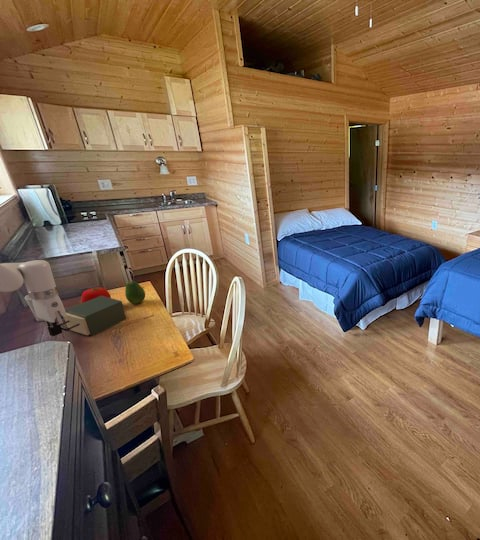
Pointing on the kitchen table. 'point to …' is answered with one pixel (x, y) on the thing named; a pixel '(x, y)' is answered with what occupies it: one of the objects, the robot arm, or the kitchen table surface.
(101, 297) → the cabinet
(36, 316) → the cup
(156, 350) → the kitchen table surface
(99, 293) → the tomato
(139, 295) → the fruit
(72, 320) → the drawer
